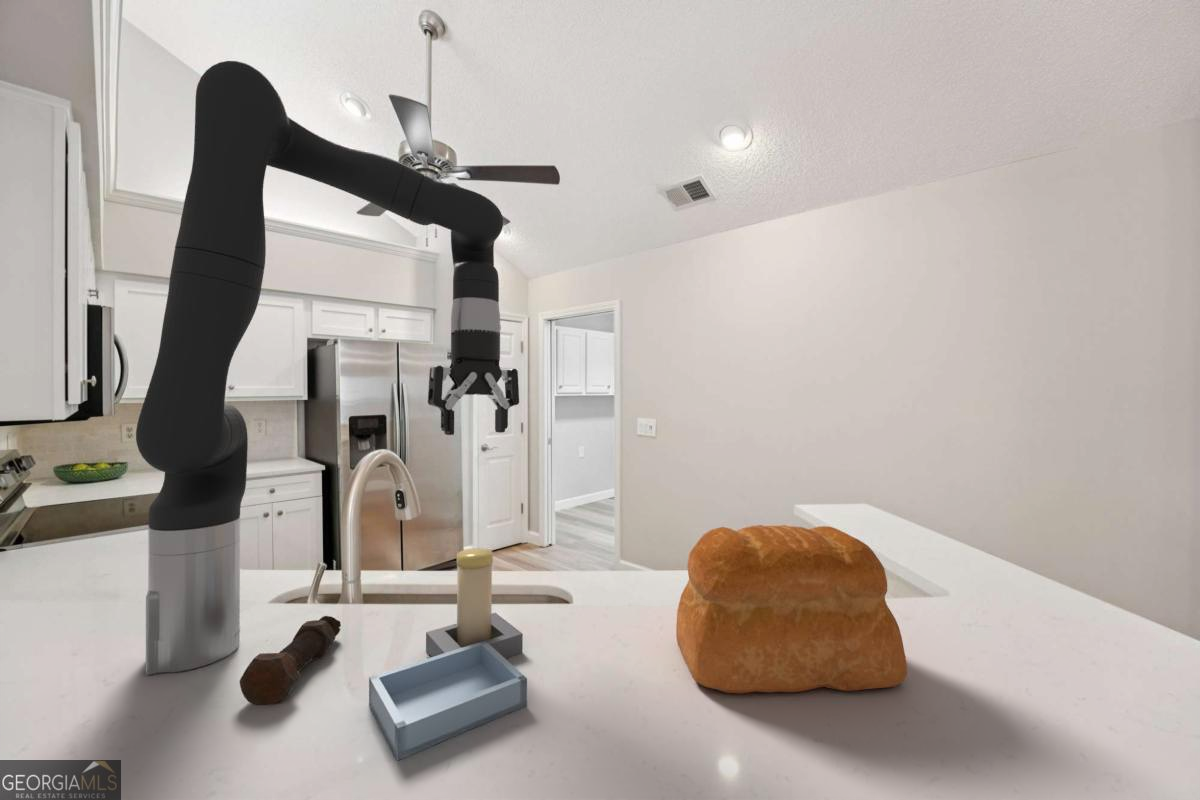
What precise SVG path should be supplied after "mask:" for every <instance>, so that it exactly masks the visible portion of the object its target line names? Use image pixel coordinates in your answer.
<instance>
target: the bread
mask: <svg viewBox="0 0 1200 800" xmlns="http://www.w3.org/2000/svg"><path fill="white" fill-rule="evenodd" d="M686 565H687V572H688V580H687V584H686V585H685V587H684V589H683V591H682V593H681V594H680V599H679V601H678V607H677V611H676V612H677V613H676V624H675V625H676V626H675V627H676V628H675V629H676V630H675V631H676V632H675V633H676V643H677V647H678V648H679V650H680V653H681V655H682V657H683V659H684V663H685V664H686V666H687V668H688V669H689V671H690V673H691V677H692V679H693V680H695V682H697V683H698V684H700V685H701V686H703V687H705V688H708V689H713V690H718V691H720V692H724V693H727V694H745V693H753V692H759V693H760V692H761V693H779V692H780V693H798V692H804V691H808V690H813V689H819V688H823V687H824V688H827V689H832V690H839V691H844V692H853V691H860V690H861V691H862V690H871V689H880V688H882V689H885V688H895V687H896V686H898V685H900V684H901V683H904V681H905V679H906V676H907V674H908V663H907V659H906V653H905V647H904V643H903V637H902V634H901V629H900V626H899V624H898V621H897V620H896V617H895V616H894V614H893V612H892V611H891V609H890V607H889V606H888V604H887V601H886V594H887V592H888V578H887V575H886V570H885V569H886V568H885V567H884V565H883V564H882V563H881V561H880V559H879V558H878V556H877V555H876V554H875V552H874V551H873V550H872V549H871V548H870V546H869V545H867V544H866V543H865V542H863V541H862V540H860V539H858V538H856V537H854V536H853V535H850V534H848V533H846V531H842V530H840V529H837V528H835V527H833V526H825V525H824V526H823V525H821V526H817V527H813V528H809V529H808V528H805V527H802V526H791V525H786V524H784V525H783V524H782V525H762V524H758V525H752V526H750V525H749V526H747V527H743V528H740V529H738V530H734V529H732V528H729V527H726V526H722V527H717V528H713V529H710V530H709V531H707V532H706V533H704V534H702V536H701V537H700V538H699V540H698V541H697V542H696V543H695V546H693V548H692V549H691V550H690V552H689V555H688V559H687V564H686Z"/></svg>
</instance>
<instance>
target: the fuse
mask: <svg viewBox="0 0 1200 800" xmlns="http://www.w3.org/2000/svg"><path fill="white" fill-rule="evenodd" d="M493 556H494V553H493V550H491V549H488V548H483V547H482V548H476V547H475V548H469V549H464V550H460V551H458V552H457V554H456V567H457V572H456V573H457V579H456V581H457V583H456V584H457V585H456V586H457V587H456V588H457V589H456V592H457V593H456V594H457V595H456V598H457V599H456V605H457V606H456V624H457V644H458V645H459V646H460V647H461V648H463V647H466V646H469V645H472V644H475V643H478V642H482V641H487V640H490V639H491V614H492V601H493V600H492V599H493V598H492V594H493V593H492V592H493V591H492V590H493V584H492V582H493V581H492V580H493V577H492V576H493V575H492V574H493V573H492V570H493V560H494V559H493V558H494V557H493Z"/></svg>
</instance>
